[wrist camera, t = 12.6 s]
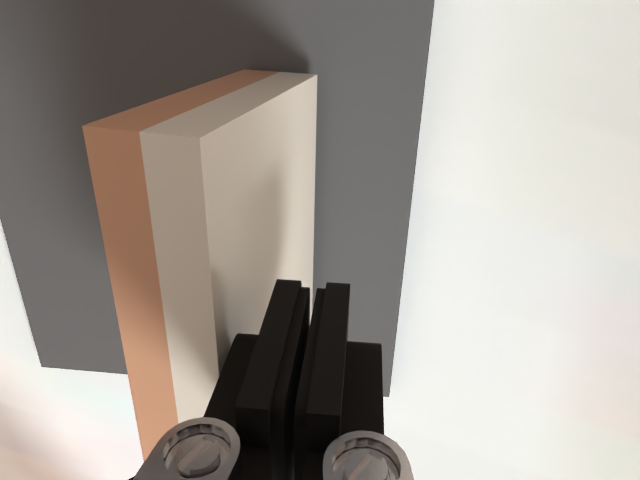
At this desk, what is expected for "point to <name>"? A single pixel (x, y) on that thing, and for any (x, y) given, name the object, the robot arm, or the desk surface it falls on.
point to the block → (202, 227)
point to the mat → (183, 73)
